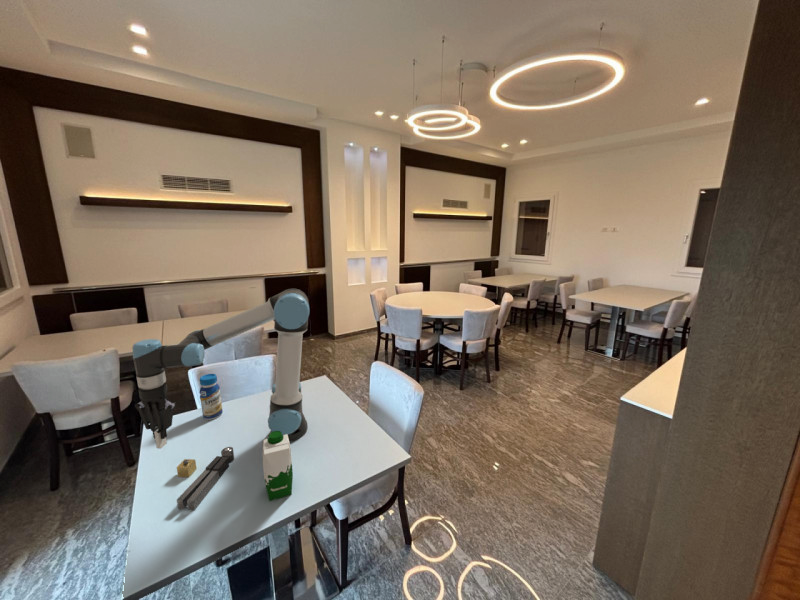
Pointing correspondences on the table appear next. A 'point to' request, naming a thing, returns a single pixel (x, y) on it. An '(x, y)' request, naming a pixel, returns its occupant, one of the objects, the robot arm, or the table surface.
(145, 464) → the table surface
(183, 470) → the block
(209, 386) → the beverage bottle
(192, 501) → the base
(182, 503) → the tong arm
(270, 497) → the milk carton
